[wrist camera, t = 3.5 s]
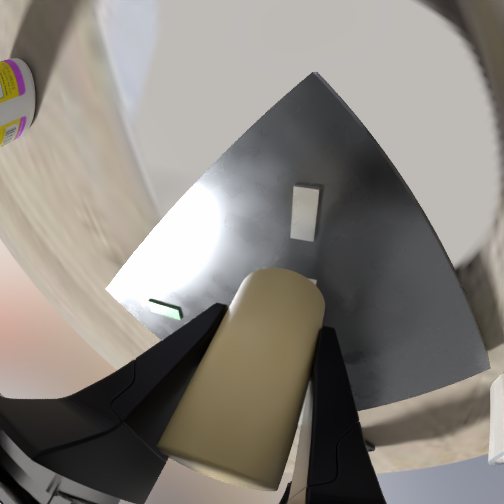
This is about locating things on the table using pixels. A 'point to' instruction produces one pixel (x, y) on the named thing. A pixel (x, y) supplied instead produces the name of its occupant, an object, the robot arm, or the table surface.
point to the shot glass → (496, 422)
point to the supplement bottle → (15, 99)
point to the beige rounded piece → (250, 383)
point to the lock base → (316, 248)
